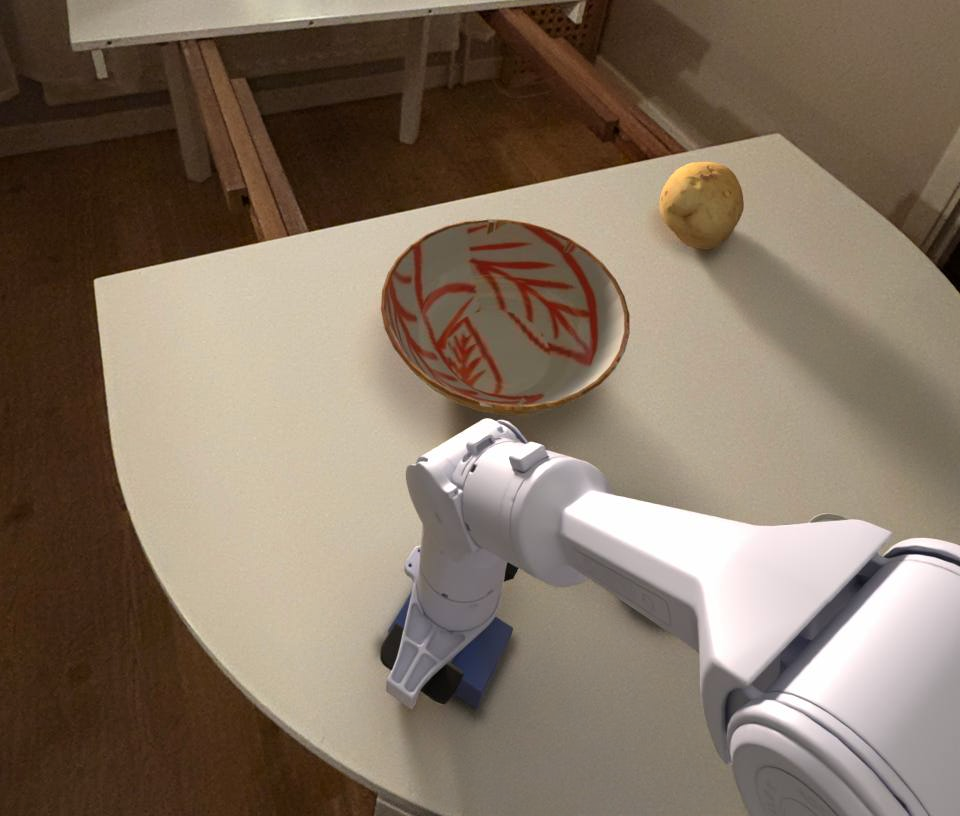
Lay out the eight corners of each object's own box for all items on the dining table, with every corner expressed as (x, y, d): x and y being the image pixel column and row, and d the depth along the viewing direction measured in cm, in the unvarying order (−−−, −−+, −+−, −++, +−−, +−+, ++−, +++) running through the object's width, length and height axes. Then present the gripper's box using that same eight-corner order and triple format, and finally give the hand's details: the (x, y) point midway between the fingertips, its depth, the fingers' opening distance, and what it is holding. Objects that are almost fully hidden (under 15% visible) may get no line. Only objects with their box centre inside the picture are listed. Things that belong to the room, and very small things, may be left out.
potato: (737, 214, 104) (760, 156, 98) (722, 273, 95) (747, 213, 88) (664, 190, 106) (682, 132, 100) (642, 245, 97) (661, 185, 91)
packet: (508, 645, 60) (514, 626, 58) (476, 711, 56) (481, 693, 54) (422, 589, 62) (424, 569, 60) (386, 648, 59) (387, 629, 57)
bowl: (555, 251, 95) (566, 202, 90) (657, 421, 77) (677, 372, 72) (356, 290, 87) (355, 239, 82) (418, 490, 69) (422, 441, 64)
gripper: (466, 442, 56) (453, 531, 65) (345, 624, 46) (349, 702, 54) (552, 490, 54) (527, 576, 62) (445, 694, 44) (433, 764, 52)
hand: (449, 638), depth 58 cm, fingers open, 7 cm apart
